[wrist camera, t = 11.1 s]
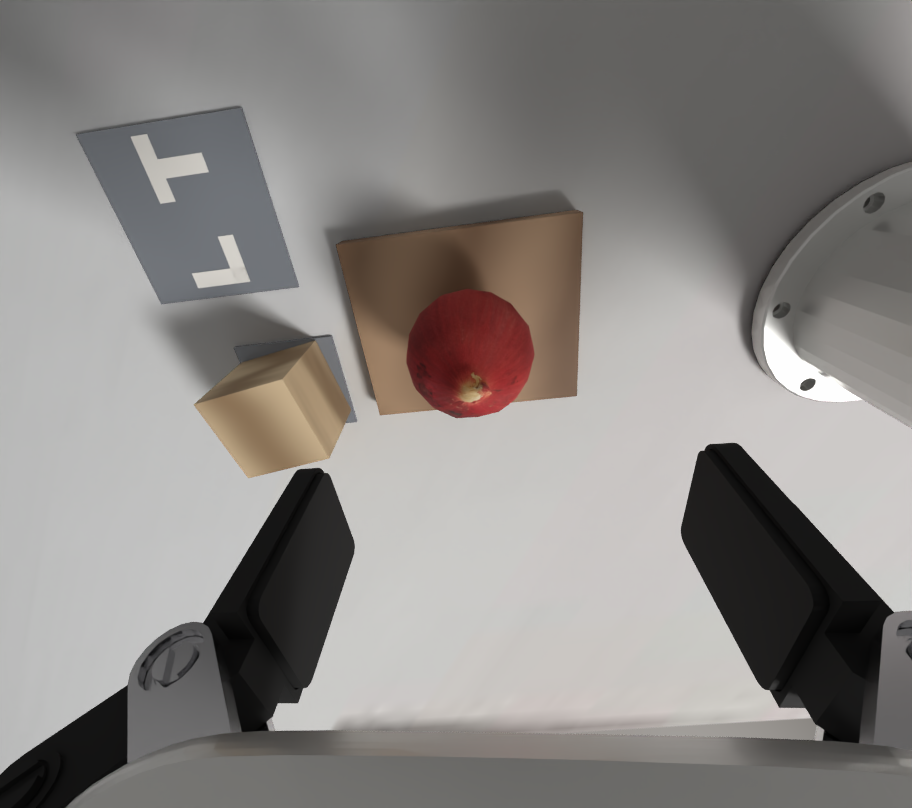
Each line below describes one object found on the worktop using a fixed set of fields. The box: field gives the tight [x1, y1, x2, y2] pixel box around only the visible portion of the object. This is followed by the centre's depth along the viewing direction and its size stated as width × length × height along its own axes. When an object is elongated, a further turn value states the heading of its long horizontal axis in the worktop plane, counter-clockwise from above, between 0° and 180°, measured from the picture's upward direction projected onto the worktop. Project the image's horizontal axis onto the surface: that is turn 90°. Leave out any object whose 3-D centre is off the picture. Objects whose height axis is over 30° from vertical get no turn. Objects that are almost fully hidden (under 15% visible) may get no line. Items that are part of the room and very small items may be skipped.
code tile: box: [76, 108, 299, 304], centre depth 20 cm, size 8×8×1 cm
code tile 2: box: [234, 336, 357, 423], centre depth 25 cm, size 6×6×1 cm
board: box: [336, 210, 583, 415], centre depth 22 cm, size 12×10×1 cm
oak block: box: [194, 340, 351, 478], centre depth 23 cm, size 5×5×5 cm
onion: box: [406, 289, 535, 418], centre depth 18 cm, size 6×6×8 cm
